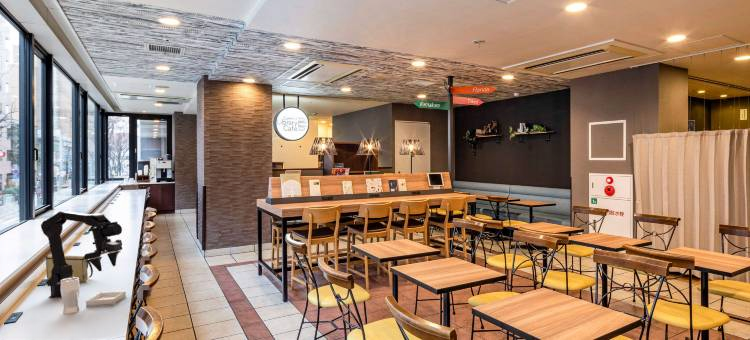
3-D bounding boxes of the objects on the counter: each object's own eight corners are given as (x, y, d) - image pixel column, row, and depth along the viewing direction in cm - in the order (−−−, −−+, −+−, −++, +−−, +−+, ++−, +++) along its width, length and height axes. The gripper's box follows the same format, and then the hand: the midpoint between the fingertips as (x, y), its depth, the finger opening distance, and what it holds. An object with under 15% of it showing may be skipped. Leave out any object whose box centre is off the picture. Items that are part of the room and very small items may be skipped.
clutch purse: (96, 279, 237) (95, 253, 237) (86, 283, 231) (85, 256, 230) (55, 277, 243) (54, 252, 243) (43, 280, 237) (42, 255, 236)
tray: (86, 307, 191) (85, 300, 191) (100, 298, 203) (99, 292, 203) (113, 305, 192) (113, 299, 192) (125, 296, 204) (125, 291, 204)
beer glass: (70, 315, 181) (69, 281, 181) (57, 314, 182) (56, 281, 182) (84, 309, 188) (83, 277, 187) (72, 308, 189) (70, 276, 189)
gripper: (100, 239, 195) (107, 270, 195) (128, 232, 214) (134, 261, 214) (80, 243, 196) (87, 275, 197) (109, 236, 215) (115, 264, 215)
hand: (107, 268), depth 206 cm, fingers open, 9 cm apart
